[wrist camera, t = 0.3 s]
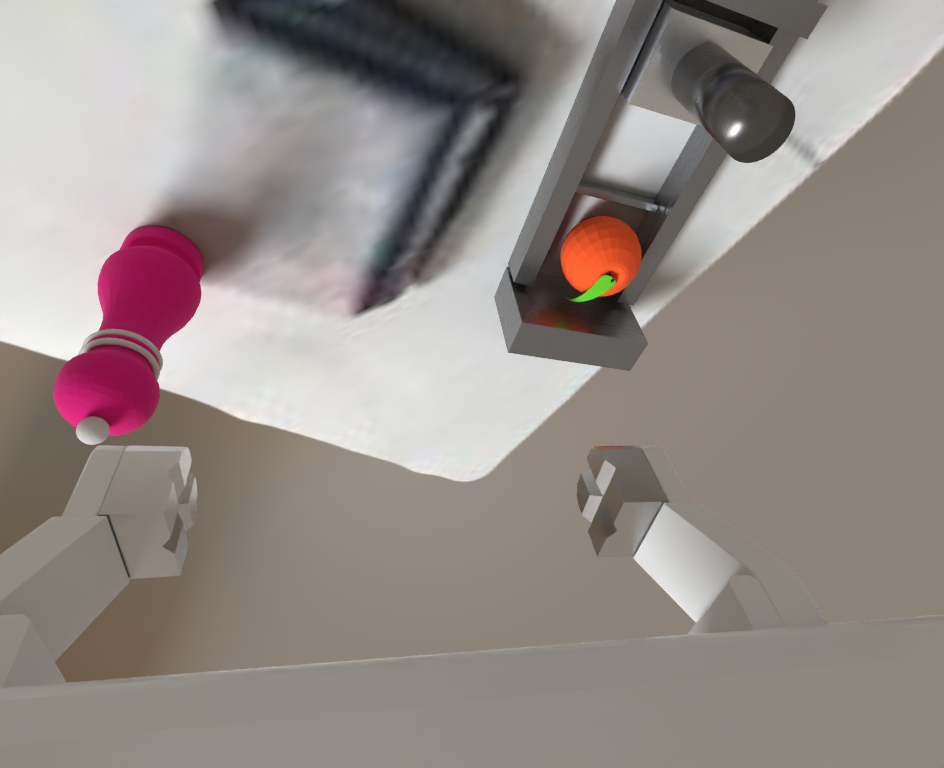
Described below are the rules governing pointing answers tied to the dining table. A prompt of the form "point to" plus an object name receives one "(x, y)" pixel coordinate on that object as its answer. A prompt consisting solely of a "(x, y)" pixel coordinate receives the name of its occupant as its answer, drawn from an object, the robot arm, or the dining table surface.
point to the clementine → (600, 257)
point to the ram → (710, 81)
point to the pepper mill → (130, 334)
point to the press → (618, 196)
